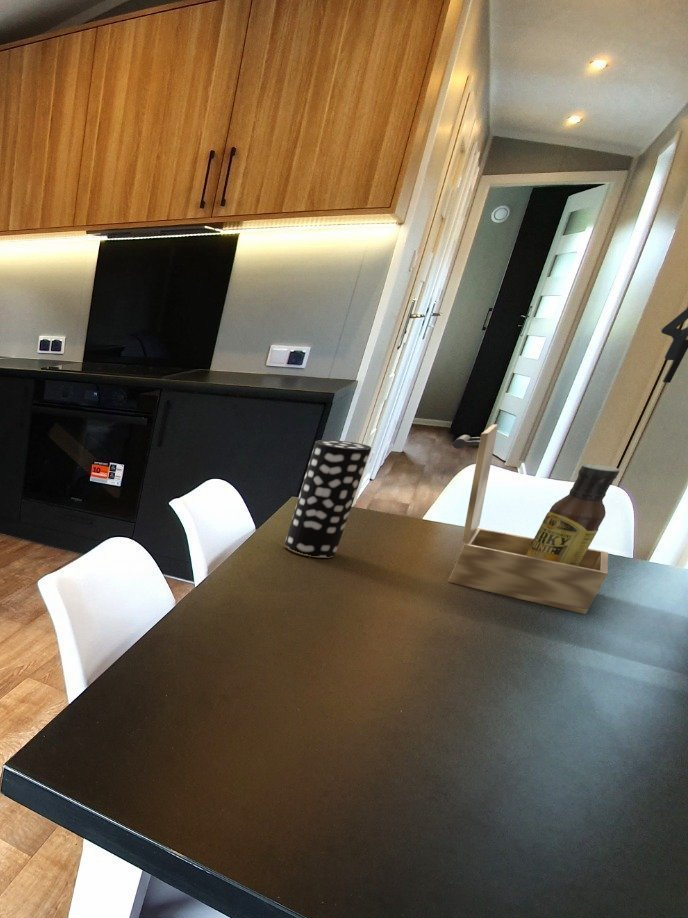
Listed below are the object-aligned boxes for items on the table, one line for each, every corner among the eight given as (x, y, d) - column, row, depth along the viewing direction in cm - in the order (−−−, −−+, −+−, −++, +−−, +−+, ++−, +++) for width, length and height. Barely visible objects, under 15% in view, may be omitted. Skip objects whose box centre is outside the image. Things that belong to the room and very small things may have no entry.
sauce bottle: (503, 578, 107) (558, 461, 99) (539, 579, 107) (598, 461, 99) (537, 593, 101) (599, 470, 93) (576, 594, 101) (642, 471, 93)
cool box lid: (498, 424, 107) (463, 425, 110) (488, 433, 98) (451, 434, 102) (479, 525, 112) (446, 523, 115) (468, 541, 104) (433, 539, 107)
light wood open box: (587, 590, 105) (608, 552, 102) (585, 614, 96) (607, 573, 93) (460, 562, 116) (475, 527, 113) (447, 582, 107) (464, 544, 104)
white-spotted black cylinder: (344, 559, 116) (383, 450, 108) (299, 558, 116) (334, 448, 108) (317, 544, 124) (351, 440, 115) (274, 543, 124) (305, 439, 115)
